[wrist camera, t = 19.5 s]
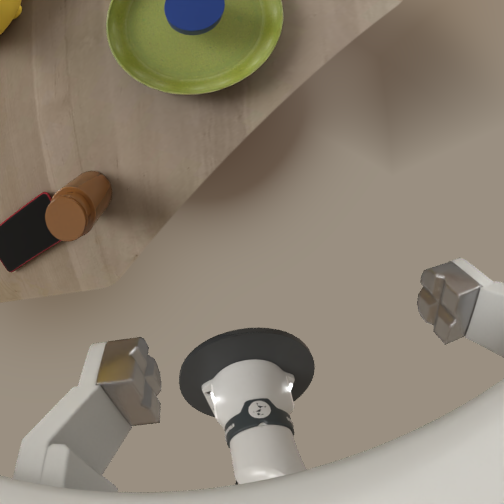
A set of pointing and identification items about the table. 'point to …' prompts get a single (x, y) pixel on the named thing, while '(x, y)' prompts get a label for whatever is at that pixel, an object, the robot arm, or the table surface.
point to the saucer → (192, 45)
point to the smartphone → (26, 234)
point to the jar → (78, 206)
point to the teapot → (8, 12)
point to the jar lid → (193, 15)
